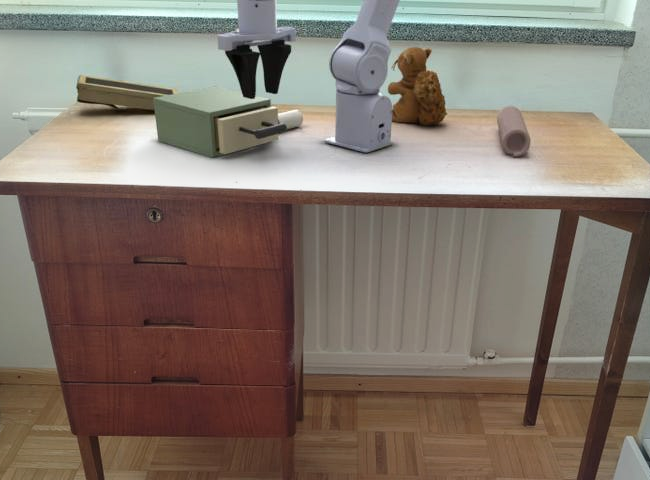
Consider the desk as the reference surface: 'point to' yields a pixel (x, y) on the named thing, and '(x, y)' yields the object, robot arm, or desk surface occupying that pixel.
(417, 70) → the stuffed squirrel
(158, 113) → the box
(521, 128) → the grey hollow tube piece
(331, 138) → the robot arm
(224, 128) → the drawer
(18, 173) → the desk surface
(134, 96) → the box
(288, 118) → the glue stick
